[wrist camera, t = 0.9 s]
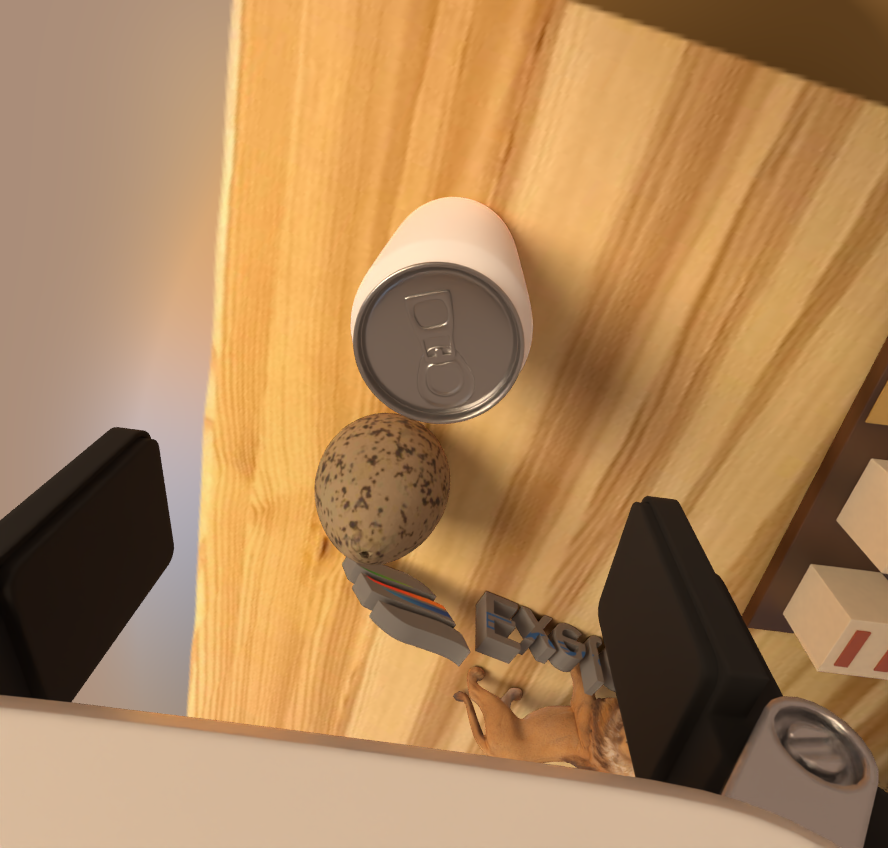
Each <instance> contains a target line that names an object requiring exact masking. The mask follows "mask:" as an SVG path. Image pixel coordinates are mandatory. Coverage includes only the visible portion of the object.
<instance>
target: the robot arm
mask: <svg viewBox="0 0 888 848" xmlns="http://www.w3.org/2000/svg"><path fill="white" fill-rule="evenodd" d="M173 551H174V543H173V536H172V529H171V523H170V516H169V510H168V503H167V496H166V491H165V483H164V477H163V470H162V463H161V457H160V450H159V445H158V443H157V441H156V440H154V439H151V437H150V435H149V433H147V432H146V431H143V430H135V429H127V428H119V427H116V428H115V427H114V428H112V429H110V430H109V431H107V432H106V433H105V434H104V435H103V436H101V437H100V438H99V439H98V440H97V441H95V442H94V443H93V444H92V445H91V446H89V447H88V448H87V449H86V450H85V451H83V452H82V453H81V454H80V455H79V456H77V457H76V458H75V459H74V460H73V461H71V462H70V463H69V464H68V465H67V466H65V467H64V468H63V469H62V470H60V471H59V472H58V473H57V474H56V475H54V476H53V477H52V478H51V479H50V480H48V481H47V482H46V483H45V484H44V485H42V486H41V487H40V488H39V489H38V490H36V491H35V492H34V493H33V494H32V495H30V496H29V497H28V498H27V499H26V500H25V501H23V502H22V503H21V504H20V505H18V506H17V507H16V508H15V509H13V510H12V511H11V512H10V513H9V514H7V515H6V516H5V517H4V518H3V519H1V520H0V848H888V793H886V792H885V791H884V790H882V789H881V788H880V787H878V767H877V765H876V762H875V760H874V757H873V755H872V753H871V751H870V750H869V748H868V747H867V745H866V744H865V743H864V741H863V740H862V738H861V737H860V736H859V735H858V734H857V733H856V732H855V731H854V730H853V729H852V728H851V727H850V726H849V725H848V724H847V723H846V722H845V721H843V720H842V719H841V718H839V717H838V716H836V715H835V714H834V713H832V712H831V711H829V710H828V709H826V708H824V707H822V706H820V705H818V704H816V703H814V702H811V701H808V700H805V699H802V698H798V697H787V696H783V695H782V693H781V691H780V689H779V687H778V685H777V683H776V682H775V680H774V678H773V676H772V674H771V672H770V670H769V668H768V666H767V664H766V662H765V660H764V659H763V657H762V655H761V653H760V651H759V649H758V647H757V645H756V643H755V641H754V639H753V637H752V635H751V634H750V632H749V630H748V628H747V626H746V624H745V622H744V620H743V618H742V616H741V614H740V612H739V610H738V609H737V607H736V605H735V603H734V601H733V599H732V597H731V595H730V593H729V591H728V589H727V587H726V585H725V584H724V582H723V580H722V579H721V578H720V576H719V575H717V574H716V573H715V572H714V570H713V568H712V566H711V564H710V562H709V560H708V558H707V556H706V554H705V552H704V550H703V548H702V546H701V545H700V543H699V541H698V539H697V537H696V535H695V533H694V531H693V529H692V527H691V525H690V523H689V521H688V519H687V517H686V515H685V513H684V511H683V509H682V507H681V505H680V504H679V502H678V501H677V500H674V499H667V498H659V497H651V496H646V497H645V498H644V499H643V500H642V502H641V503H640V502H635V503H634V504H633V505H632V507H631V510H630V513H629V516H628V519H627V522H626V524H625V527H624V530H623V533H622V536H621V539H620V542H619V545H618V548H617V551H616V554H615V557H614V560H613V563H612V566H611V568H610V571H609V574H608V577H607V580H606V583H605V586H604V589H603V592H602V595H601V598H600V601H599V607H598V617H599V623H600V627H601V631H602V636H603V640H604V644H605V648H606V653H607V657H608V661H609V666H610V670H611V674H612V679H613V683H614V687H615V692H616V696H617V700H618V705H619V709H620V713H621V718H622V722H623V726H624V731H625V735H626V739H627V744H628V748H629V752H630V756H631V761H632V765H633V769H634V774H635V777H630V776H623V775H617V774H610V773H604V772H597V771H591V770H584V769H578V768H571V767H564V766H558V765H551V764H543V763H536V762H529V761H521V760H514V759H506V758H499V757H492V756H484V755H477V754H469V753H462V752H455V751H447V750H440V749H432V748H425V747H418V746H410V745H403V744H395V743H387V742H380V741H372V740H364V739H357V738H349V737H341V736H334V735H326V734H318V733H311V732H303V731H295V730H287V729H280V728H272V727H264V726H256V725H249V724H241V723H233V722H225V721H217V720H209V719H201V718H193V717H185V716H177V715H168V714H161V713H152V712H144V711H136V710H128V709H120V708H112V707H104V706H96V705H88V704H80V703H72V700H73V699H74V697H75V696H76V695H77V693H78V692H79V691H80V689H81V688H82V686H83V685H84V683H85V682H86V681H87V679H88V678H89V676H90V675H91V674H92V672H93V671H94V669H95V668H96V666H97V665H98V664H99V662H100V661H101V659H102V658H103V657H104V655H105V654H106V652H107V651H108V650H109V648H110V647H111V645H112V644H113V642H114V641H115V640H116V638H117V637H118V635H119V634H120V633H121V631H122V630H123V628H124V627H125V626H126V624H127V623H128V621H129V620H130V618H131V617H132V616H133V614H134V613H135V611H136V610H137V609H138V607H139V606H140V604H141V603H142V601H143V600H144V599H145V597H146V596H147V594H148V592H150V590H151V589H152V587H153V586H154V584H155V583H156V582H157V580H158V579H159V577H160V576H161V575H162V573H163V572H164V570H165V569H166V568H167V566H168V565H169V563H170V561H171V558H172V555H173Z"/></svg>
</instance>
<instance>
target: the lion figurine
mask: <svg viewBox="0 0 888 848" xmlns="http://www.w3.org/2000/svg"><path fill="white" fill-rule="evenodd" d="M484 676H485V672H484V671H483V669H482V668H480V667H472V668H470V670H469V671H468V675H467V682H468V690H469V696H470V698H471V699H472V700H473V701H474V702H476V703H477V704H478V706H479V707H480V709H481V711H482V713H483V716H484V720H485V727H486V735H483V733H482V730H481V727H480V725H479V722H478V719H477V716H476V713H475V710H474V707H473V704H472V702H471V700H470V698H469V696H468V695H467V694H466V693H463V692H460V691H459V692H457V693H455V694H454V696H453V697H454V698H455V700H457V701H462V702H464V703H465V704H466V708H467V713H468V717H469V722H470V726H471V729H472V732H473V735H474V738H475V740H476V742H477V744H478V745H479V747H480V749H481V750H482V751H483V752H484V753H485V754H486V755H487V756H492V757H499V758H506V759H514V760H521V761H529V762H536V763H546V762H567V763H571V764H572V765H574V766H575V767H577V768H578V769H584V770H591V771H597V772H604V773H610V774H617V775H623V776H630V777H635V774H634V769H633V765H632V761H631V756H630V752H629V748H628V744H627V739H626V735H625V731H624V726H623V722H622V718H621V713H620V709H619V705H618V700H617V699H616V698H608V697H607V698H602V699H601V698H598V699H596V697H595V693H594V694H593V695H592V696H591V695H588V694H585V693H584V687H583V682H582V676H581V670H580V665H579V663H578V664H577V665H576V666H575V667H574V668H573V669H572V670H571V676H572V679H573V695H572V698H571V706H548V707H543V708H540V709H537V710H535V711H533V712H532V713H530V714H529V715H527V716H526V717H524V718H523V719H519V718H518V717H517V716H516V715H515V714H514V713H513V712H512V711H511V709H510V705H511V702H512V701H513V700H515V701H517V700H520V699H521V698H522V695H523V693H522V690H521V689H519V688H510V689H509V690H508V691H507V692H506V693H505V695H504V696H503V697H502V698H501V699H500V698H499V697H497V696H495V695H494V694H492V693H490V692H489V691H487V690H485V689H483V688H482V687H481V686H479V685H478V683H477V681H480V680H482V679H483V677H484Z"/></svg>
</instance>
